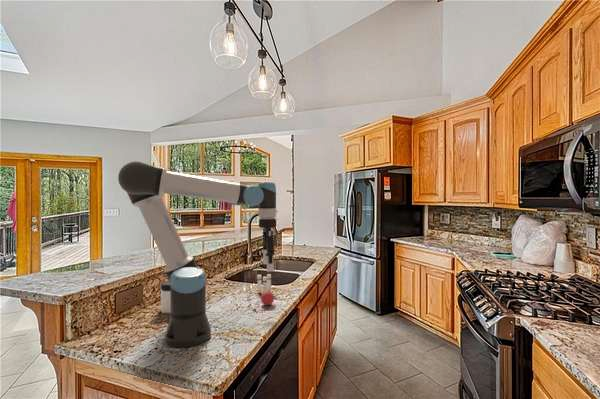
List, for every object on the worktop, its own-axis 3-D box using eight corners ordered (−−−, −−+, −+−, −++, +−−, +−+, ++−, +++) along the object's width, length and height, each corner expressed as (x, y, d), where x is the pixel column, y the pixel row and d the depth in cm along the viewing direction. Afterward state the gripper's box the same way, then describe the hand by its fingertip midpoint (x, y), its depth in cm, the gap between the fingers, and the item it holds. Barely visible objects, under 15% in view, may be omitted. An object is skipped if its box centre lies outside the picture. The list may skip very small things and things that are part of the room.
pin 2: (271, 292, 160) (271, 275, 160) (267, 292, 160) (267, 275, 160) (270, 291, 162) (270, 274, 162) (266, 291, 162) (266, 274, 162)
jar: (160, 308, 137) (160, 281, 137) (179, 305, 141) (179, 279, 141) (161, 314, 129) (161, 286, 129) (182, 311, 133) (182, 283, 133)
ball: (274, 306, 139) (274, 293, 139) (261, 307, 138) (261, 294, 138) (273, 302, 145) (273, 289, 145) (260, 303, 144) (260, 290, 143)
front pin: (267, 295, 155) (267, 277, 155) (263, 295, 155) (262, 277, 155) (266, 294, 157) (266, 276, 157) (262, 294, 157) (262, 276, 157)
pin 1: (261, 292, 159) (261, 275, 159) (257, 293, 159) (257, 275, 159) (261, 291, 161) (261, 274, 161) (257, 292, 161) (257, 274, 161)
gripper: (281, 220, 121) (281, 273, 121) (272, 216, 146) (272, 261, 146) (261, 220, 120) (262, 275, 120) (256, 216, 144) (256, 262, 144)
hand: (268, 267), depth 133 cm, fingers open, 13 cm apart
